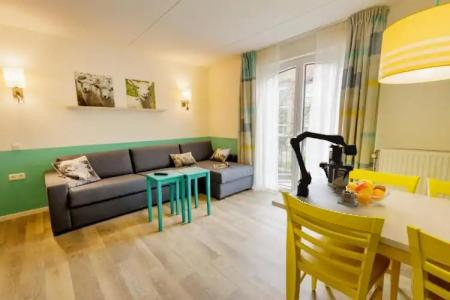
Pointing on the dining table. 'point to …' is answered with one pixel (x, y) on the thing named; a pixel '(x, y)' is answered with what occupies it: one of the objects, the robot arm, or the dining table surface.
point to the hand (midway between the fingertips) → (335, 179)
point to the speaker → (331, 171)
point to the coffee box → (340, 180)
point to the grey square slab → (347, 202)
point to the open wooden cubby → (347, 196)
